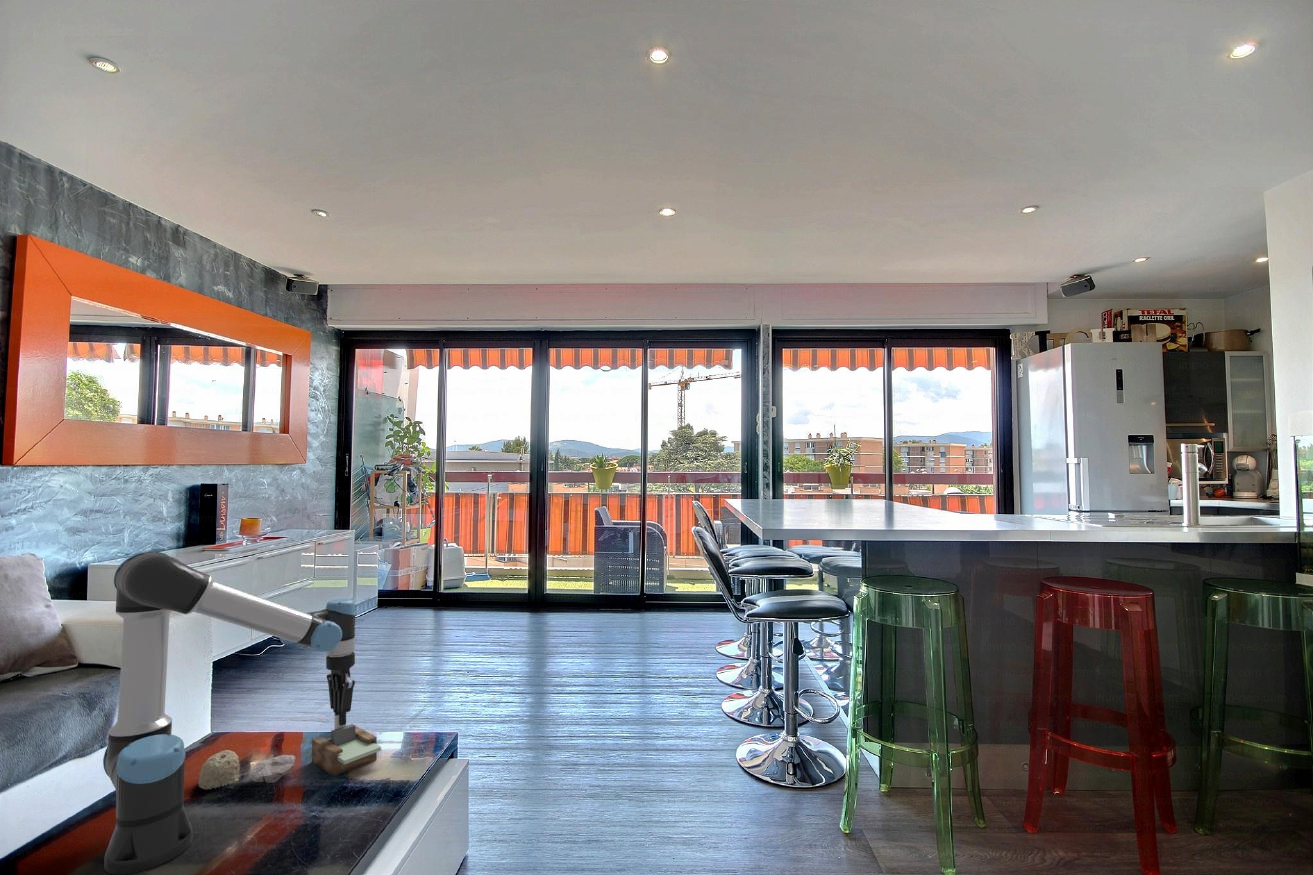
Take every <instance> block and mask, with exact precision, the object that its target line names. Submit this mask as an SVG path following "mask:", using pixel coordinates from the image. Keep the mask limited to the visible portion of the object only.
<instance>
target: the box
mask: <svg viewBox="0 0 1313 875" xmlns="http://www.w3.org/2000/svg"><path fill="white" fill-rule="evenodd" d="M355 736H357V737H359V738H361V739H362V740H364V741H366V742H368V743H369V742H373V743H375V744H377V745H378V742H377V740H378V739H377V736H376V735H373V734H372V733H370V732H368V731H366V730H364V729H362V728H360V727H359V726H357V725H355ZM342 752H343V749H341V748H340V747H338V746H336V745H335V744H333V743H331V737H329V738H325V737H323V736H317V737H314V738H311V762H312V763H313V764H315V765H316V766H317V767H319V768H320V769H321V770H323V771H324V772H326V773H327V774H329V775H330V776H333V777H335V776H338V775H340V774H343V773H346V772H349V771H351V770H353V769H356V768H358V767H361V766H364V765H366V764H369V763H372V762H374V761H377V758H378V757H377V756H378V755H377V753H378V752H376V753H373V754H371V755H368V756H365V757H363V758H360V759H357V760H355V761H352V762H350V763H347V764H343V763H341V762H340V761H338V760H336V755H337V754H339V753H342Z"/></svg>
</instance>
